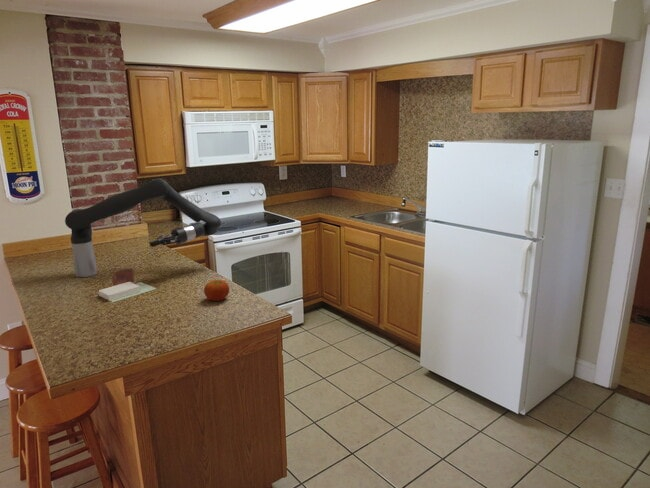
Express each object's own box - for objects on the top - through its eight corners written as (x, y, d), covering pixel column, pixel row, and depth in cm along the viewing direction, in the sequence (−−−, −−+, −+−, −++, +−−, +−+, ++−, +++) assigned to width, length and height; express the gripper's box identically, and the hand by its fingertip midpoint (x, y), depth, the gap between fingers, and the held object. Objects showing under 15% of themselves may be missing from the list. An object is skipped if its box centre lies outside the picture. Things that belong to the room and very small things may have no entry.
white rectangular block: (129, 281, 212) (98, 290, 202) (140, 286, 206) (108, 295, 196) (130, 286, 213) (99, 295, 203) (140, 291, 207) (109, 301, 197)
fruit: (203, 296, 200) (201, 279, 198) (227, 293, 204) (226, 275, 201) (206, 305, 190) (204, 287, 188) (232, 301, 194) (230, 283, 192)
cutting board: (141, 283, 219) (141, 282, 219) (156, 289, 210) (156, 288, 210) (98, 295, 205) (98, 294, 205) (112, 303, 196) (112, 302, 196)
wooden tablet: (135, 284, 219) (135, 281, 219) (112, 288, 216) (112, 284, 215) (135, 269, 243) (134, 266, 243) (114, 271, 240) (114, 268, 239)
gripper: (175, 225, 228) (142, 235, 216) (189, 228, 219) (155, 238, 207) (178, 240, 230) (145, 250, 218) (192, 243, 221) (159, 254, 209)
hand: (150, 244), depth 213 cm, fingers closed
